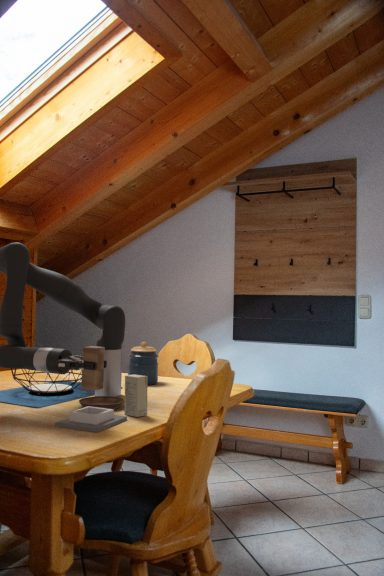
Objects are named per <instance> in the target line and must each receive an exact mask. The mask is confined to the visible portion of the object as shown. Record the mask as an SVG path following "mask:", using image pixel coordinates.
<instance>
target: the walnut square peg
mask: <svg viewBox="0 0 384 576" xmlns="http://www.w3.org/2000/svg"><path fill="white" fill-rule="evenodd" d="M82 356H83V357H82V360H84V361H90V362H97V369H96V370H89V369H84V370H81V384H80V386H81V387H80V388H81V390H87V391H94V392H95V390H99V389H103V381H104V356H105V347H97V346H95V345H89V346H83V347H82Z"/></svg>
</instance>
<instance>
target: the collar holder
mask: <svg viewBox="0 0 384 576" xmlns="http://www.w3.org/2000/svg"><path fill="white" fill-rule="evenodd" d="M114 413H115V410H114V409H106V408H98V407H91V406H87V407H82V408H78V409H75V410H72V411H70V412H69V417H67V418H66V417H65V418H64V419H60V420H58V421H54V424H53V425H54V427H57V428H58V427H59V428H65V429H71V430H77V431H79V430H80V431H85V432H91V433H92V432H93V433H99V432H101V430H102V431H104V430H106V429H108V428H111V427H113V426H117V425H118V424H121V423H124V422H126V421H128V416H127V415H126V416H125V415H119V414H117V415H116V414H114Z"/></svg>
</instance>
